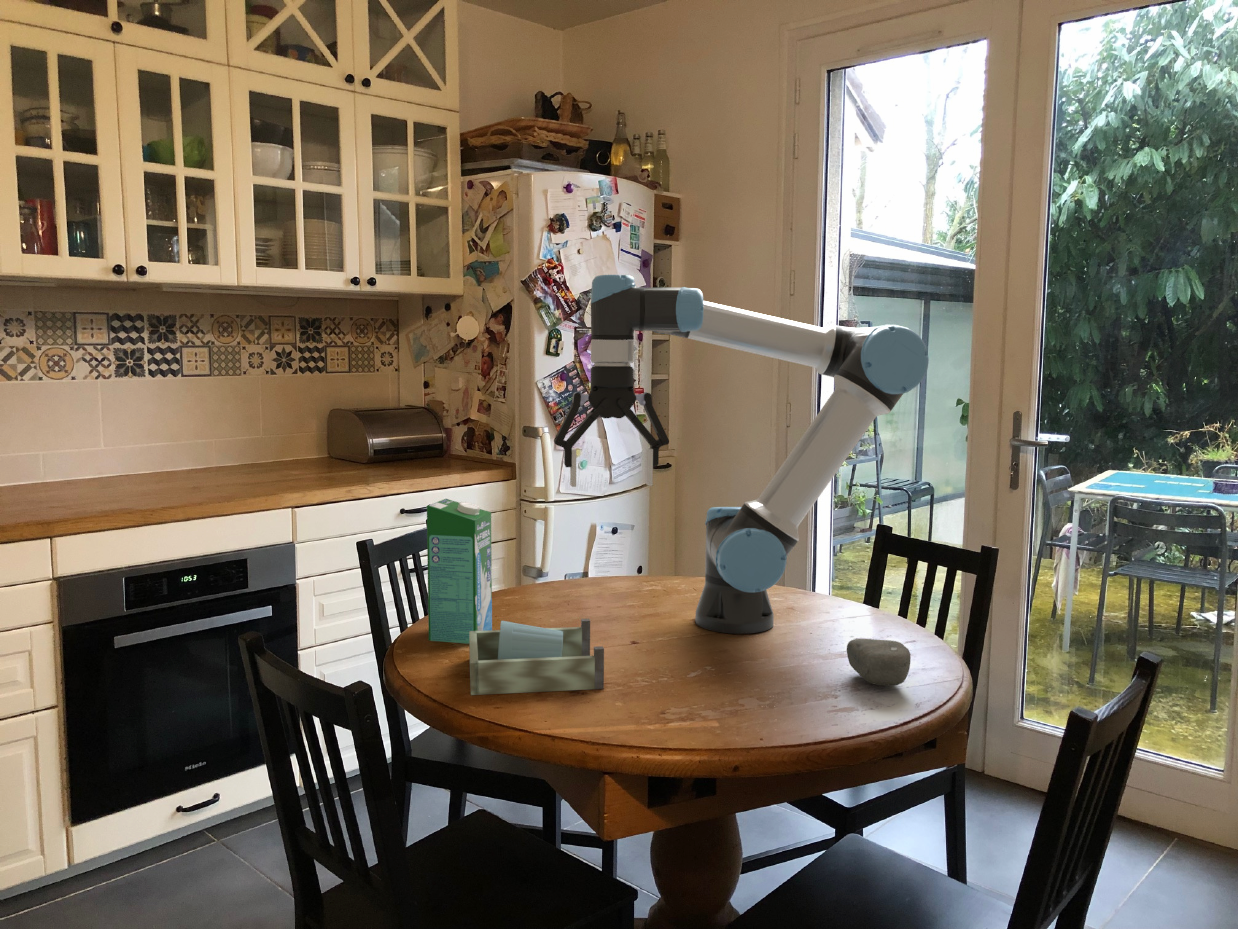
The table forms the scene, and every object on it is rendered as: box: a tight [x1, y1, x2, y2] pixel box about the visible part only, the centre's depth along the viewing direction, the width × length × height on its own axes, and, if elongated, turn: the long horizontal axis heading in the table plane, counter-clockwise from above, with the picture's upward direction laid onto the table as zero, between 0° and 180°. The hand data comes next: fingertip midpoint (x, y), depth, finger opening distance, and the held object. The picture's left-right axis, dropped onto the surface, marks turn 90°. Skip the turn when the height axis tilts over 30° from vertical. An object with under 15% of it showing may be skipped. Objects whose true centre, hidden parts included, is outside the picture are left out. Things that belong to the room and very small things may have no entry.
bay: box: [468, 618, 605, 696], centre depth 158 cm, size 20×18×6 cm
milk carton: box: [426, 498, 493, 645], centre depth 178 cm, size 9×9×25 cm
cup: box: [498, 620, 563, 660], centre depth 161 cm, size 8×8×10 cm
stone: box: [846, 638, 911, 687], centre depth 156 cm, size 9×9×10 cm
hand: (611, 485), depth 172 cm, fingers open, 13 cm apart
